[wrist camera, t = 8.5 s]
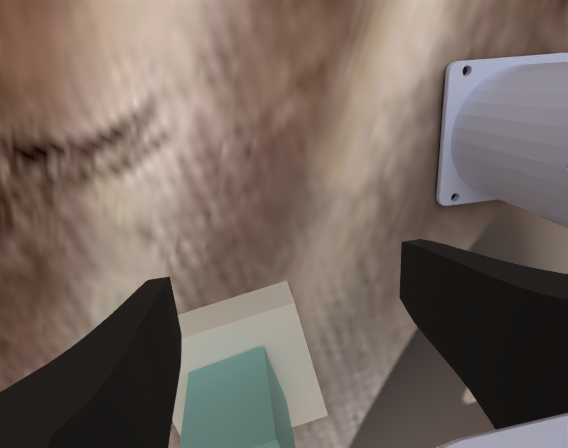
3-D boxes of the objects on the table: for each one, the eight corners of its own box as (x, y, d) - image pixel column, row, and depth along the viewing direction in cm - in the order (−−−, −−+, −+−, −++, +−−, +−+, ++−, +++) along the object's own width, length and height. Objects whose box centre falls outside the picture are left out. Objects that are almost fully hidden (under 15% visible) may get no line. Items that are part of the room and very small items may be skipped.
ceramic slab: (285, 277, 24) (294, 302, 21) (316, 381, 27) (328, 415, 25) (146, 320, 23) (136, 352, 21) (195, 421, 27) (193, 461, 24)
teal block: (263, 346, 22) (276, 439, 16) (286, 400, 23) (305, 501, 18) (188, 372, 22) (175, 475, 16) (217, 425, 23) (215, 534, 18)
